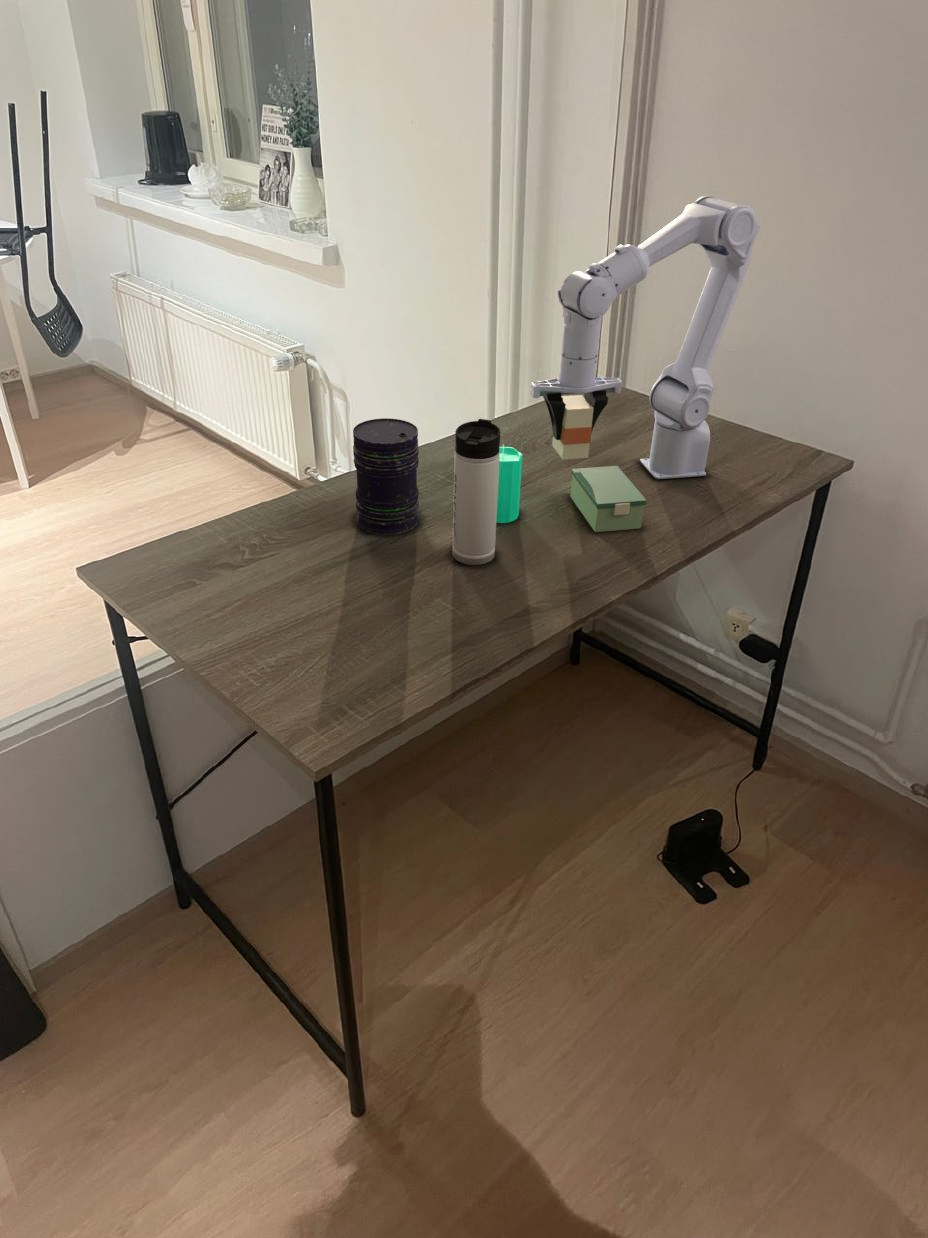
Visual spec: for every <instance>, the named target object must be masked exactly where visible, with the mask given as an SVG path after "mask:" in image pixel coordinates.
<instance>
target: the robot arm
mask: <svg viewBox="0 0 928 1238" xmlns="http://www.w3.org/2000/svg"><path fill="white" fill-rule="evenodd" d="M760 227H761V225H760V224H759V221H758V219H757V216H756V213H755V211H754V210H753V208H752V207H751V206H749V205H746V204H738V203H734V202H730V201H727V200H722V199H718V198H715V197H714V196H711V195H703V196H701V197H698V199H696V200H695V201H694V202H692V203H689V204H687V205H686V206H685V207H684V210H683V212H682V213H680V215H679V216H677V217H676V218H675V219H673V220H672V221H670V222H669V223H668V224H666V225H665V226H663V228H661V229H660V230H659V231H657V232H656V233H654V234H653V235H651V236H650V237H649V238H647V239H645V240H644V242H642V243H641V244H639V245H638V246H637V245H634V244H625V245H623V244H619V245H617V246H616V247H614V248H613V249H614V252H612V253H611V254H609V255H607V256H605V258H602V259H601V260H600V261H598V262H597V263H595V262H593V263H591V264H589V266H588V269H586V270H585V271H584V270H581V271H580V270H576V271H574V272H572V273H570V274H569V275H568V276H567V277H566V278H565V279H564V281H563V283H562V285H561V288H560V289H558V290H557V299H558V302H559V303H560V305H561V307H562V317H563V324H562V335H561V336H562V337H561V349H560V361H559V375H558V377H556V378H550V379H545V380H541V381H531V382H530V390H529V391H530V395H531V397H532V398H533V399H539V398H540V397H543V400H544V402H545V405H546V408H547V411H548V415H549V418H550V423H551V429H552V437H553V436H554V438H555V439H556V440H560V437H561V431H562V419H563V414H564V409H565V406H566V404H565V403H564V402H563V398H562V397H561V396H572V395H583V397H584V398H585V399H586V400H587V401H588V403H589V404H590V405H591V406H592V407H593V408H594V409H593V418H592V431H591V434H592V433H593V430H594V428H595V425H596V422H597V421H598V419H599V417H600V415H601V413H602V412H603V410H604V409H605V408H606V406H608V402H609V397H608V396H607V393H613V394H614V395H615V394H616V395H617V394H618V395H619V394H621V393H622V388H623V387H622V386H623V381H622V380H621V379H620V378H619V377H600V376H597V366H598V357H599V350H600V349H599V348H600V337H601V329H602V319H603V316H605V314H607V312H608V311H609V310H610V308H611V306H612V304H613V302H614V301H615V300H616V299H617V298H618V297H619V296H620V295H622V294H624V293H626V292H627V291H628V290H630V289H631V288H633V287H634V286H636V285H638V284H639V283H641V282H642V281H644V280H645V279H646V278H647V275H648V272H649V268H650V267H652V266H654V265H655V264H657V263H659V262H660V261H662V260H664V259H666V258H668V257H670V256H672V255H673V254H675V253H677V252H679V251H680V250H682V249H684V248H686V247H687V246H689V245H691V244H696V245H699V246H700V247H701V248H702V249H703V250H704V251H705V254H706V255H707V258H708V261H709V263H710V265H711V267H710V270H709V273H708V275H707V278H706V280H705V283H704V286H703V289H702V291H701V294H700V297H699V299H698V302H697V305H696V307H695V309H694V312H693V315H692V318H691V321H690V322H689V326H688V329H687V332H686V335H685V336H684V340H683V342H682V345H681V348H680V350H679V353H678V356H677V357H676V361H674V362H672V363H671V364H669V365H667V366H665V367H664V368H663V369H662V372H661V374H660V375H659V377H658V379H657V380H656V381H655V383H654V384H653V386H652V387H651V390H650V392H649V396H648V397H649V399H648V401H649V405H650V407H651V409H653V417H654V419H655V420H654V426H653V430H652V431H653V432H652V439H651V445H650V453H649V458H647V457H646V458H640V460H639V462H640V463H641V464H642V465H643V466H644V468H645V469H646V470H647V471H648V472H649V474H651V475H652V477H654V479H656V480H668V479H680V478H681V479H682V478H695V477H706V476H707V472H705V470H706V466H707V465H706V464H707V461H708V460H707V459H708V454H709V449H710V444H711V430H710V427H709V425H708V422H707V421H706V419H707V417H708V416H709V414H710V411H711V404H712V403H711V401H712V400H711V399H712V395H713V393H714V391H715V390H714V389H715V387H714V384H713V382H712V379H711V377H710V374H709V370H710V366H711V364H712V362H713V359H714V356H715V354H716V351H717V349H718V346H719V344H720V341H721V338H722V336H723V333H724V331H725V328H726V325H727V323H728V320H729V318H730V315H731V312H732V310H733V307H734V305H735V303H736V300H737V297H738V296H739V293H740V292H739V291H740V290H741V287H742V284H743V282H744V280H745V276H746V274H747V272H748V270H749V267H750V263H751V258H752V248H753V245H754V244H755V241H756V238H757V235H758V233H759V230H760Z"/></svg>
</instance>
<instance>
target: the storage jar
mask: <svg viewBox="0 0 928 1238" xmlns="http://www.w3.org/2000/svg"><path fill="white" fill-rule="evenodd" d="M352 434H353V435H352V437H353V446H352V452H353V453H352V454H353V465H354V468H355V469H356V471H355V472H356V487H355V492H354V496H355V509H356V514H357V516H356V522H357V523H356V524H357V525H358V526H359V527H360V528H361V529H362V530H364V531H365V532H368V533H372V534H375V535H384V536H385V535H386V536H389V535H400V534H403V533H406V532H409V531H411V530H413V529H414V528H415V527H416V526H417V525H418V524H419V509H420V508H419V507H420V497H419V496H420V491H419V490H420V489H419V486H418V485H417V484H418V483H417V482H418V474H417V471H418V470H417V469H418V468H419V462H420V458H419V455H420V446H419V439H418V437H419V430H418V427H417V426H416V425H415V424H413V423H412V422H410V421H406V420H403V419H399V418H388V417H387V418H383V417H382V418H375V419H368V420H364V421H362V422H360V423H358V424H356V425H355V426H354V427H353V429H352Z"/></svg>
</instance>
